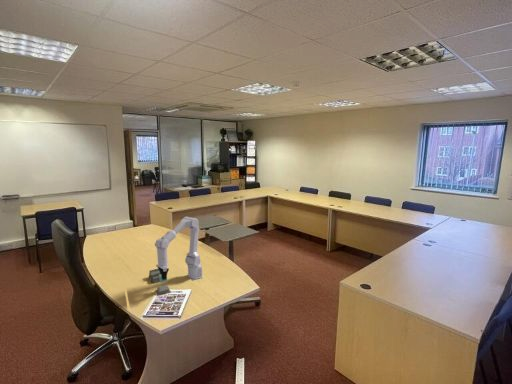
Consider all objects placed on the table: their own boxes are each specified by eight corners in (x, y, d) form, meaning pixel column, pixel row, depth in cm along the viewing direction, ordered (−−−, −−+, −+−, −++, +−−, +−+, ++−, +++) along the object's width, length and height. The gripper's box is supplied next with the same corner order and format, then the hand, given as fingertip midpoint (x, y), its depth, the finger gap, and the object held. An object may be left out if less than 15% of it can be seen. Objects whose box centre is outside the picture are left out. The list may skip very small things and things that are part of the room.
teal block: (165, 278, 175) (165, 272, 174) (167, 281, 171) (166, 275, 171) (159, 280, 173) (159, 274, 172) (160, 282, 169) (160, 276, 169)
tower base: (168, 289, 177) (168, 286, 177) (171, 295, 170) (171, 292, 170) (155, 292, 173) (155, 290, 173) (157, 298, 167) (157, 295, 166)
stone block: (151, 286, 182) (151, 278, 181) (147, 277, 194) (147, 270, 193) (165, 282, 186) (164, 275, 186) (160, 274, 199) (160, 267, 198)
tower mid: (167, 287, 176) (167, 284, 176) (169, 291, 171) (168, 288, 170) (157, 290, 173) (157, 287, 173) (159, 294, 168) (159, 291, 167)
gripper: (153, 254, 174) (155, 274, 176) (157, 262, 162) (158, 284, 164) (165, 253, 178) (166, 272, 180) (169, 260, 165) (170, 281, 167)
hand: (163, 278), depth 172 cm, fingers closed on teal block, 4 cm apart
